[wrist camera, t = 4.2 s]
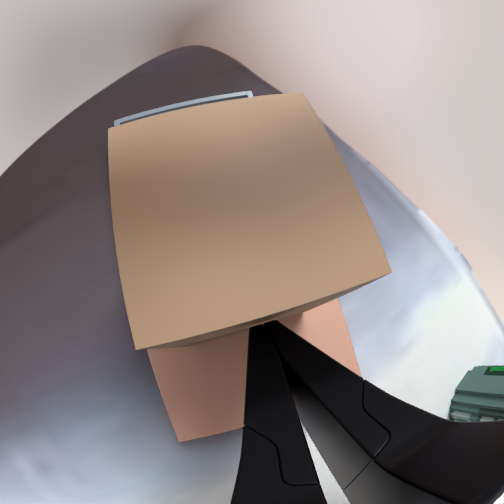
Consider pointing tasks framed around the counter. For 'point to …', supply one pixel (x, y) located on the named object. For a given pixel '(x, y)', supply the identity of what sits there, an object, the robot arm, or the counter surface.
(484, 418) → the can
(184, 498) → the counter surface
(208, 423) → the thick peach slab
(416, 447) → the robot arm
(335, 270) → the tan block
